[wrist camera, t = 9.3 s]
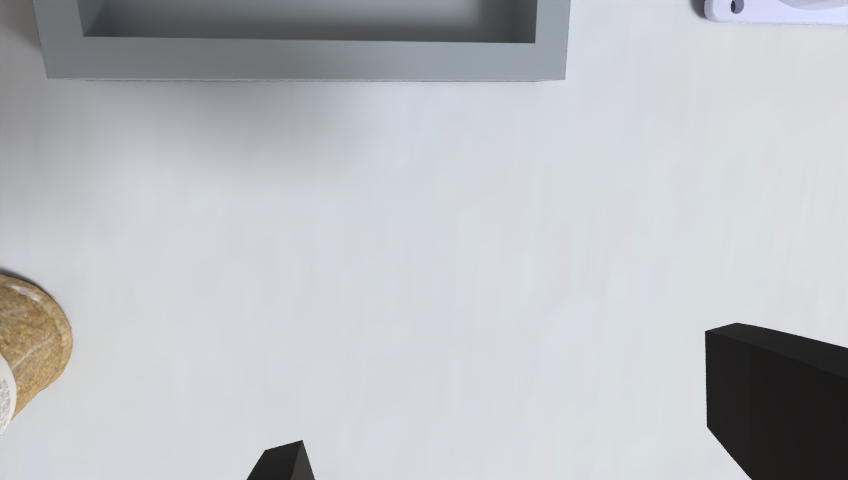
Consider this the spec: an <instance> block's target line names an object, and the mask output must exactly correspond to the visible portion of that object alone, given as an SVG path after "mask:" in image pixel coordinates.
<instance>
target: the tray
mask: <svg viewBox="0 0 848 480" xmlns="http://www.w3.org/2000/svg"><path fill="white" fill-rule="evenodd" d="M32 2H33V8H34V13H35V18H36V23H37V28H38V33H39V38H40V43H41V48H42V53H43V58H44V64H45V69H46V74H47V78H53V79H70V80H87V81H420V82H537V81H552V80H565V72H566V58H567V44H568V30H569V16H570V2H571V0H32Z"/></svg>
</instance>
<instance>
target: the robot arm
mask: <svg viewBox="0 0 848 480" xmlns="http://www.w3.org/2000/svg"><path fill="white" fill-rule="evenodd" d="M732 1H734V2H735V7H736V8H735V11H734V12H733V13H732V11H731V7H730V5H731V3H732ZM704 13H705V15H706V18H707V19H708V20H710V21H712V22H719V23H760V24H802V25H844V26H848V0H705V5H704ZM705 349H706V402H707V427H708V429H709V430H710V431H711V432H712V433H713V435H714V436H715V437H716V438H717V440H718V441H719V442H720V443H721V445H722V446H723V447H724V448H725V450H726V451H727V452H728V453H729V454H730V456H731V457H732V458H733V459H734V460H735V461H736V462H737V464H738V465H739V466H740V467H741V468H742V469H743V471H744V472H745V473H746V474H747V475H748V476H749V477H750V478H751V479H752V480H848V348H846V347H842V346H838V345H834V344H830V343H826V342H822V341H818V340H814V339H810V338H806V337H802V336H798V335H793V334H789V333H785V332H781V331H776V330H772V329H767V328H763V327H758V326H753V325H747V324H741V323H733V324H730V325H726V326H722V327H719V328H715V329H711V330H707V331H705ZM247 480H315V479H314V475H313V472H312V469H311V466H310V463H309V459H308V456H307V453H306V450H305V446H304V443H303V440H301V441H297V442H294V443H290V444H286V445H283V446H279V447H275V448H271V449H268V450H265V451H264V453H263V454H262V456H261V457H260V459H259V460H258V462H257V463H256V465H255V467H254V468H253V470H252V472H251V473H250V475H249V477H248V478H247Z"/></svg>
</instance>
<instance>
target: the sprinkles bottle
mask: <svg viewBox="0 0 848 480" xmlns="http://www.w3.org/2000/svg"><path fill="white" fill-rule="evenodd" d="M72 343H73V338H72V332H71V326H70V324H69V322H68V320H67V318H66V316H65V314H64V313H63V312H62V311H61V309H60V308H59V306H58V305H57V303H56V302H55V301H54V300H52V299H51V298H50V297H49V296H48V295H47V294H46V293H44V292H43V291H42V290H40V289H39V288H38V287H36V286H33V285H31V284H29V283H27V282H25V281H23V280H19V279H17V278H11V277H7V276H5V275H0V434H1V433H2V432H3V431H4V429H5V428H6V427H7V425H8V423H9V422H10V421H11V420H12V419H13V418H14V417H15V416H16V414H18V413H19V412H20V411H21V410H22V409H23V408H24V407H25V405H26V404H27V403H28V402H29V401H31V400H32V398H33V397H34V396H35V395H36V394H37V393H38V392H40V391H41V390H43V389H45V388H47V387H48V386H49V385H50V384H51V383H52V382H54V381H55V380H56V379H57V378H58V377H59V376H60V375H61V374H62V373H63V371H64V369H65V367H66V364H67V363H68V361H69V359H70V355H71V350H72Z"/></svg>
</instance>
